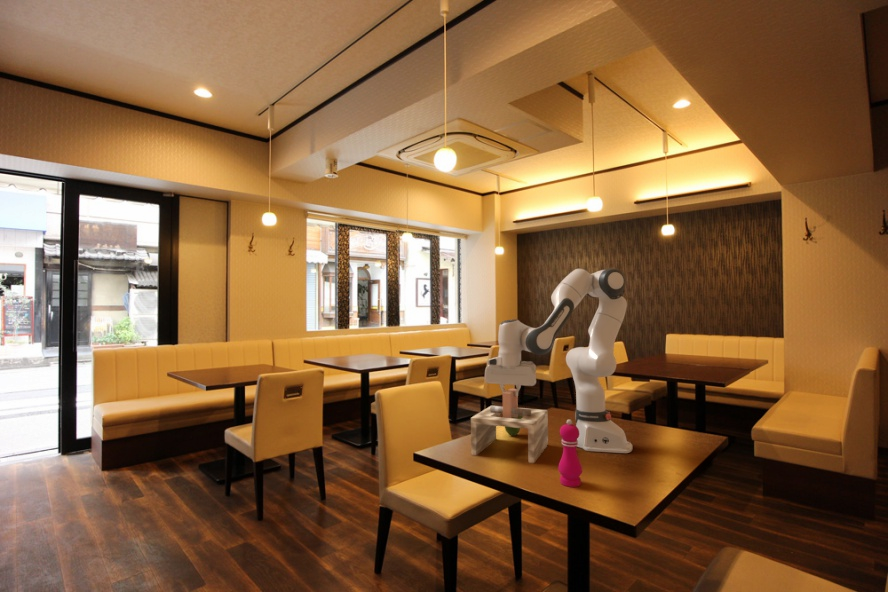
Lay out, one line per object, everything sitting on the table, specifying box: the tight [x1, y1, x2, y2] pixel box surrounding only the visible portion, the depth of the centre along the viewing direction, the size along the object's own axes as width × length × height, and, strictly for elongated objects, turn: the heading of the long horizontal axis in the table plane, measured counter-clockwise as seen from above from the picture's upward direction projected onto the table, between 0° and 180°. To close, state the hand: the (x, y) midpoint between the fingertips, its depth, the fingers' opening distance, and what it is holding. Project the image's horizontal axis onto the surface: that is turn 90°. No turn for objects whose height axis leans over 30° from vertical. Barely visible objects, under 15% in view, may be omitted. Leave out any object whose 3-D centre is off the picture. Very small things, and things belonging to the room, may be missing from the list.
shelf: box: [470, 405, 549, 464], centre depth 179 cm, size 24×24×16 cm
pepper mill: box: [557, 419, 583, 488], centre depth 144 cm, size 7×7×20 cm
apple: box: [504, 415, 524, 437], centre depth 199 cm, size 9×8×12 cm
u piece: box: [502, 388, 519, 418], centre depth 179 cm, size 3×10×11 cm, turn 155°
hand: (510, 395), depth 179 cm, fingers closed on u piece, 3 cm apart
